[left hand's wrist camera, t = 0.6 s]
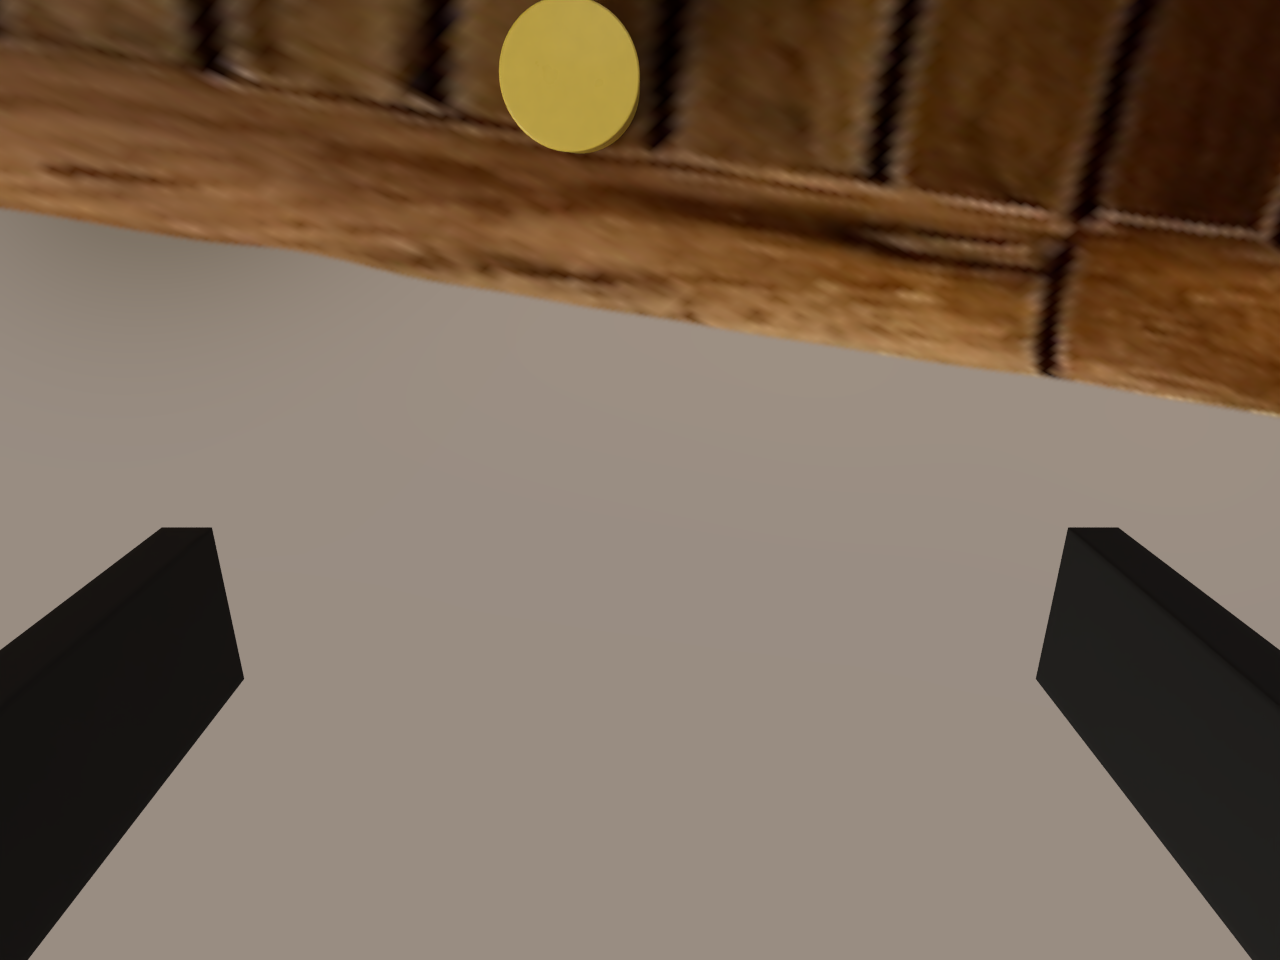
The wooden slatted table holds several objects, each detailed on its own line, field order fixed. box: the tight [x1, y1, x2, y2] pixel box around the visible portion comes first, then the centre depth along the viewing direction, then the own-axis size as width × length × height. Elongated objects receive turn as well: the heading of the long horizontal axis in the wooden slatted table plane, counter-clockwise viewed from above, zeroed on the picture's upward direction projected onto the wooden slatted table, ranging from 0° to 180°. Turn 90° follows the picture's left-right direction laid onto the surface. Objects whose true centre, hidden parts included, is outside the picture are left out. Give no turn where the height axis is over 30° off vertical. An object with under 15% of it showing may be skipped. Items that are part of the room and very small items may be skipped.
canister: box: [499, 0, 640, 153], centre depth 28 cm, size 5×5×5 cm
